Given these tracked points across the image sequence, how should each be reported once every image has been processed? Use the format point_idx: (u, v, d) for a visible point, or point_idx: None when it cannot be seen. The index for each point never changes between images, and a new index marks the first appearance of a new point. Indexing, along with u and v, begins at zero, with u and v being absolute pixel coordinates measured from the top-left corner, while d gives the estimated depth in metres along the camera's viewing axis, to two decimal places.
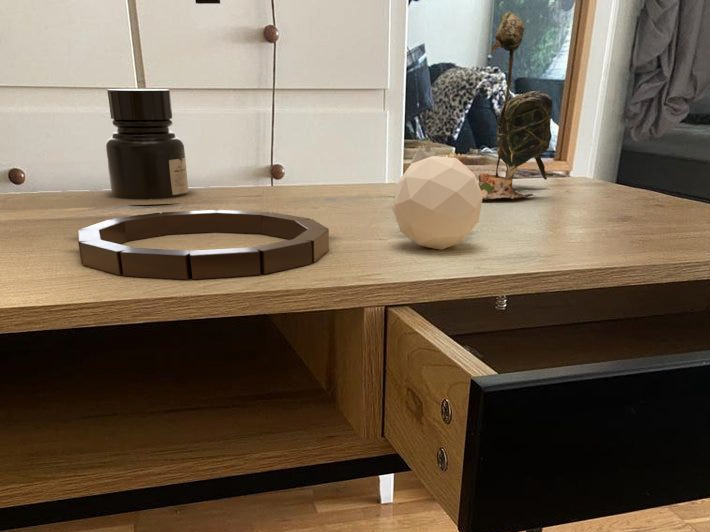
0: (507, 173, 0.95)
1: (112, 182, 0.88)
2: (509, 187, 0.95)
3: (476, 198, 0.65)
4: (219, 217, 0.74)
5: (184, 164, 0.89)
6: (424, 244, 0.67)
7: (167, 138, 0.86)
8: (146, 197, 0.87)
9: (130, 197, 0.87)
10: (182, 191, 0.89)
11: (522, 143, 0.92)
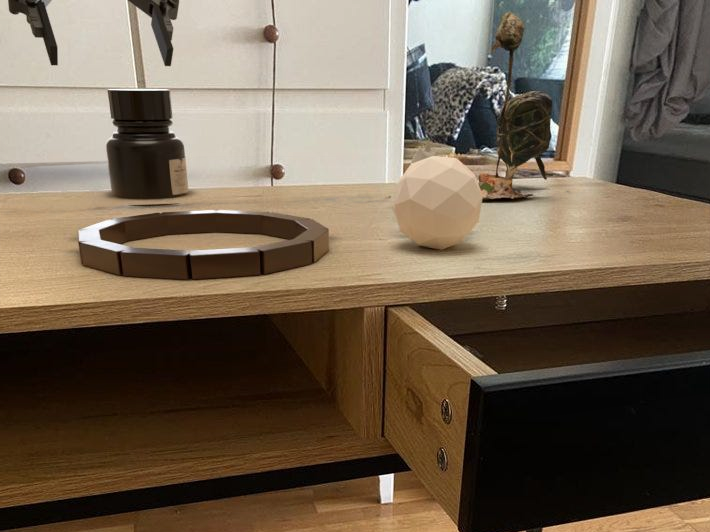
0: (507, 173, 0.95)
1: (112, 182, 0.88)
2: (509, 187, 0.95)
3: (476, 198, 0.65)
4: (219, 217, 0.74)
5: (184, 164, 0.89)
6: (424, 244, 0.67)
7: (168, 138, 0.86)
8: (146, 197, 0.87)
9: (130, 197, 0.87)
10: (182, 191, 0.89)
11: (522, 143, 0.92)
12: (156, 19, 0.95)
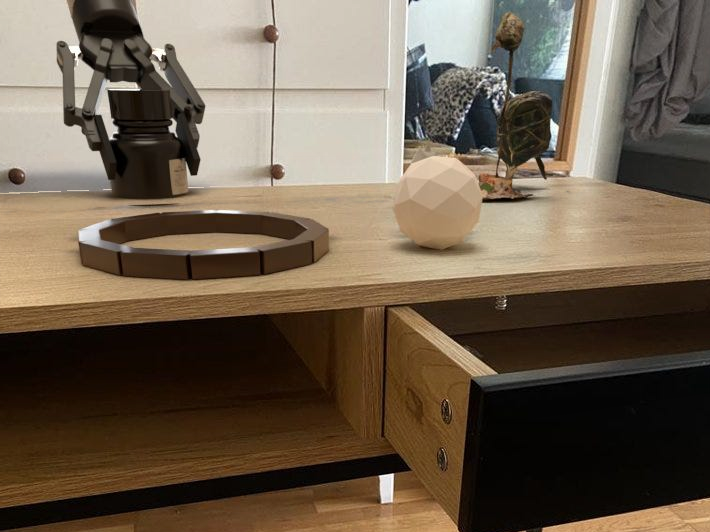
0: (507, 173, 0.95)
1: (112, 182, 0.88)
2: (509, 187, 0.95)
3: (476, 198, 0.65)
4: (219, 217, 0.74)
5: (184, 164, 0.89)
6: (424, 244, 0.67)
7: (168, 138, 0.86)
8: (146, 197, 0.87)
9: (130, 197, 0.87)
10: (182, 191, 0.89)
11: (522, 143, 0.92)
12: (182, 127, 0.89)
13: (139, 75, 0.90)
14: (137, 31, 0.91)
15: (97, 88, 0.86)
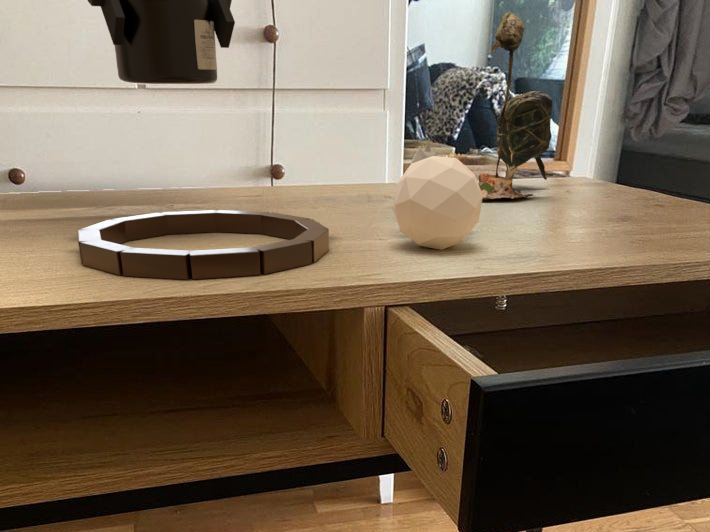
0: (507, 173, 0.95)
1: (118, 52, 0.66)
2: (509, 187, 0.95)
3: (476, 198, 0.65)
4: (219, 217, 0.74)
5: (213, 30, 0.68)
6: (424, 244, 0.67)
7: None
8: (164, 70, 0.65)
9: (142, 70, 0.66)
10: (210, 66, 0.68)
11: (522, 143, 0.92)
12: None
13: None
14: None
15: None
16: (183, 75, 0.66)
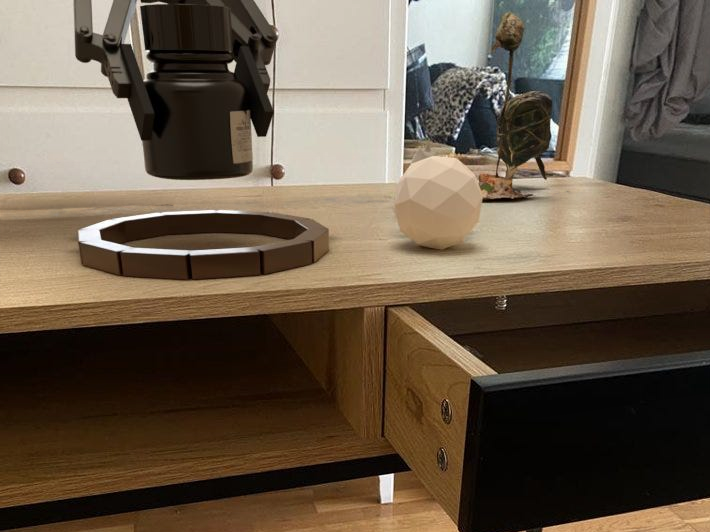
0: (507, 173, 0.95)
1: (146, 145, 0.60)
2: (509, 187, 0.95)
3: (476, 198, 0.65)
4: (219, 217, 0.74)
5: (249, 119, 0.61)
6: (424, 244, 0.67)
7: (228, 79, 0.59)
8: (196, 166, 0.59)
9: (172, 166, 0.59)
10: (246, 159, 0.62)
11: (522, 143, 0.92)
12: (245, 66, 0.61)
13: None
14: None
15: (123, 7, 0.59)
16: (217, 171, 0.60)
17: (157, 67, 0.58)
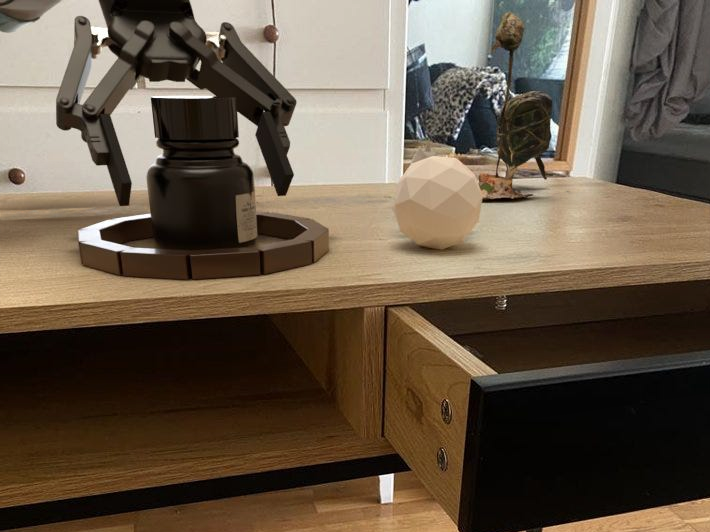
0: (507, 173, 0.95)
1: (155, 225, 0.63)
2: (509, 187, 0.95)
3: (476, 198, 0.65)
4: None
5: (254, 200, 0.64)
6: (424, 244, 0.67)
7: (234, 165, 0.62)
8: (203, 247, 0.62)
9: (181, 247, 0.62)
10: (251, 237, 0.64)
11: (522, 143, 0.92)
12: (267, 130, 0.65)
13: (189, 72, 0.66)
14: (186, 12, 0.66)
15: (114, 82, 0.61)
16: None
17: (166, 153, 0.61)
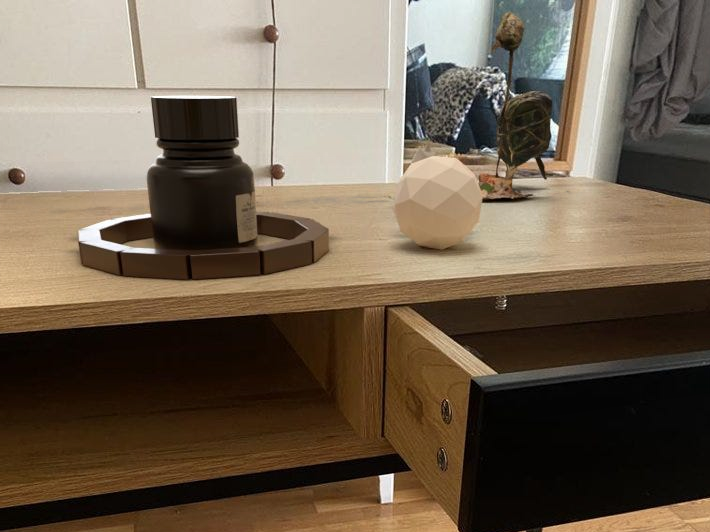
0: (507, 173, 0.95)
1: (155, 225, 0.63)
2: (509, 187, 0.95)
3: (476, 198, 0.65)
4: None
5: (254, 200, 0.64)
6: (424, 244, 0.67)
7: (234, 165, 0.62)
8: (203, 247, 0.62)
9: (181, 247, 0.62)
10: (251, 237, 0.64)
11: (522, 143, 0.92)
12: None
13: None
14: None
15: None
16: None
17: (166, 153, 0.61)
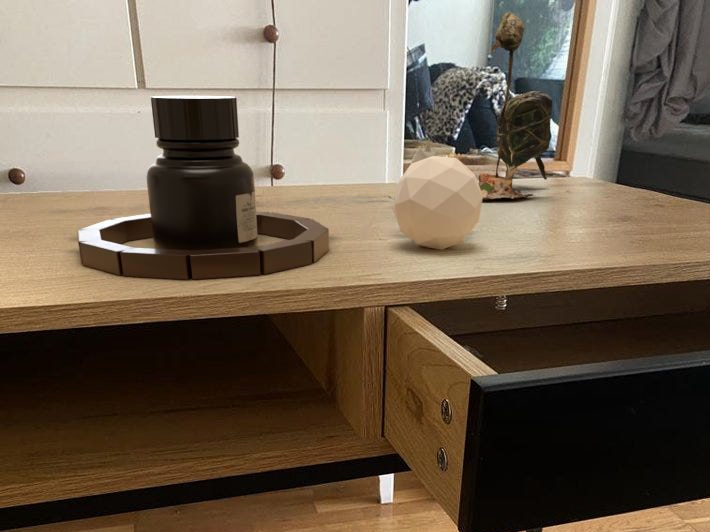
0: (507, 173, 0.95)
1: (155, 225, 0.63)
2: (509, 187, 0.95)
3: (476, 198, 0.65)
4: None
5: (254, 200, 0.64)
6: (424, 244, 0.67)
7: (234, 165, 0.62)
8: (203, 247, 0.62)
9: (181, 247, 0.62)
10: (251, 237, 0.64)
11: (522, 143, 0.92)
12: None
13: None
14: None
15: None
16: None
17: (166, 153, 0.61)
